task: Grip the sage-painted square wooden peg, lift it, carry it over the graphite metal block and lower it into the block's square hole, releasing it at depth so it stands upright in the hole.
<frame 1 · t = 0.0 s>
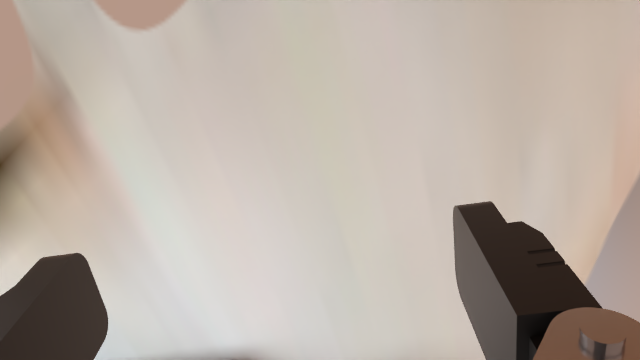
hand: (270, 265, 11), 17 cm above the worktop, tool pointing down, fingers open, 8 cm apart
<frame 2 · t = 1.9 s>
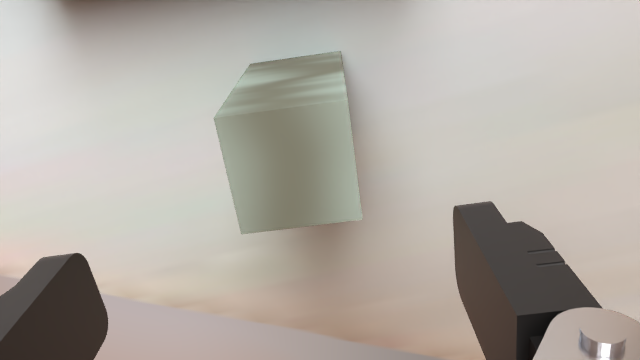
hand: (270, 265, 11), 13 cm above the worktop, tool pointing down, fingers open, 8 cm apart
peg: (302, 101, 23), on the worktop
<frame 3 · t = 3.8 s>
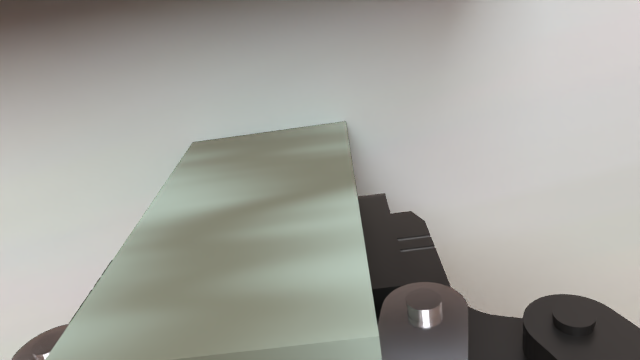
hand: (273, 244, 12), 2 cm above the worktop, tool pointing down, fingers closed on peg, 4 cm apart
peg: (281, 200, 14), on the worktop, touching gripper
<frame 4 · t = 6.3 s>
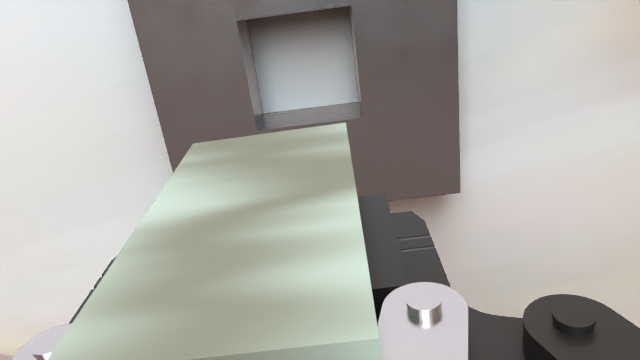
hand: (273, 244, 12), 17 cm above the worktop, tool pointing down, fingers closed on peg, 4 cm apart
peg: (282, 202, 14), point 15 cm above the worktop, touching gripper
hole block: (304, 59, 27), on the worktop
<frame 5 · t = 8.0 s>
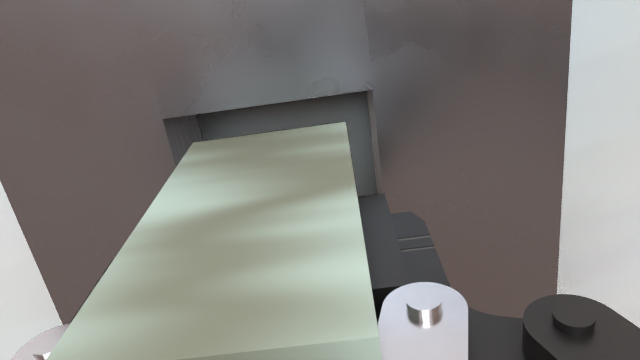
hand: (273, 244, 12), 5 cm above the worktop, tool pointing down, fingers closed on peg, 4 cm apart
peg: (281, 201, 14), point 3 cm above the worktop, touching gripper
hole block: (290, 159, 17), on the worktop
when the fingers open (4 cm above the worktop, at t = 9.1 s): peg drops 1 cm, resting in hole block.
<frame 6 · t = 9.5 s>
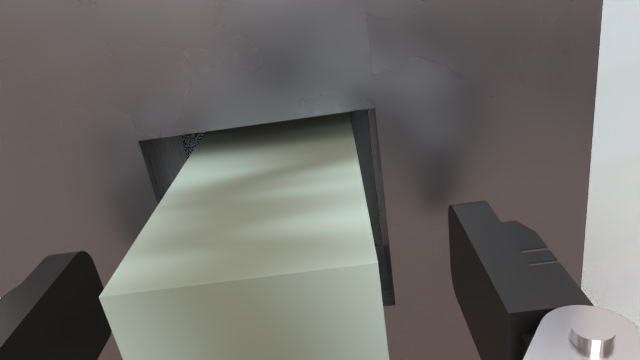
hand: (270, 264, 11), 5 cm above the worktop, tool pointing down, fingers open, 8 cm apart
peg: (290, 179, 15), resting in hole block
hole block: (284, 179, 15), on the worktop
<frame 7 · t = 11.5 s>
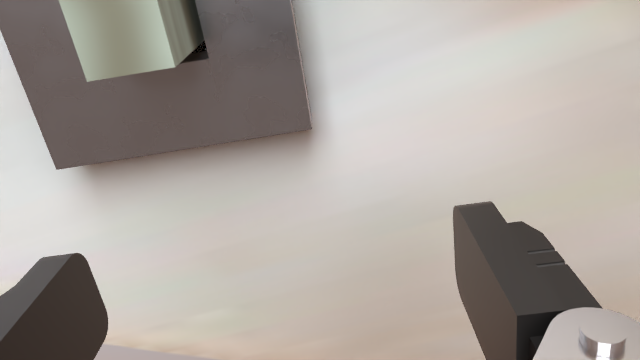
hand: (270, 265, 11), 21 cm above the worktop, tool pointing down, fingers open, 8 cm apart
peg: (162, 9, 29), resting in hole block
hole block: (159, 9, 29), on the worktop
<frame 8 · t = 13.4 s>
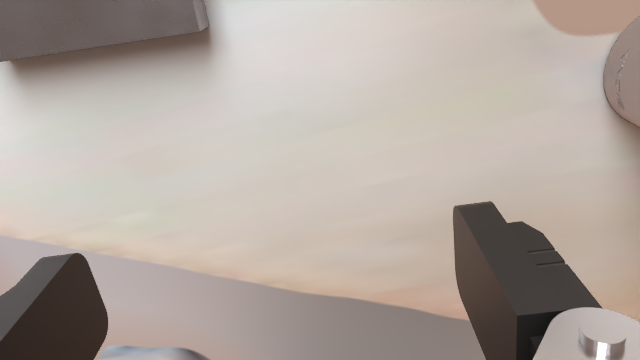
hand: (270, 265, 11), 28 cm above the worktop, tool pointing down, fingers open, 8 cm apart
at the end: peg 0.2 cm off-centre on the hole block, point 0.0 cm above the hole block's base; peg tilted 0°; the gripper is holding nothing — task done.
